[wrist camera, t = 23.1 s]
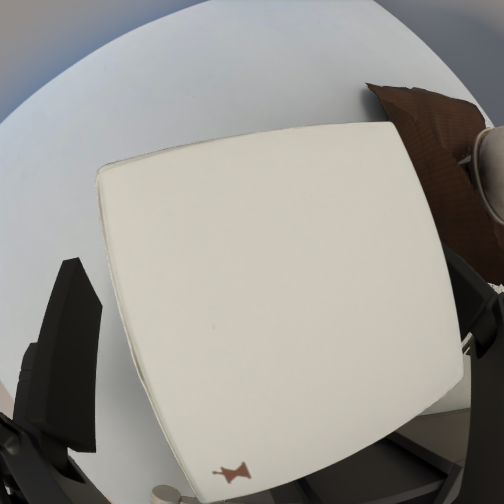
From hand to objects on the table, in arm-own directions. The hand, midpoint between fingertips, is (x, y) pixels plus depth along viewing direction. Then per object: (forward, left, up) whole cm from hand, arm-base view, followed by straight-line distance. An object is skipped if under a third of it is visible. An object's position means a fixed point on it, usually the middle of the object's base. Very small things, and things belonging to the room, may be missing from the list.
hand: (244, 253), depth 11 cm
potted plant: (+22, +5, -6) cm, 24 cm away
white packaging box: (0, -2, -6) cm, 7 cm away
